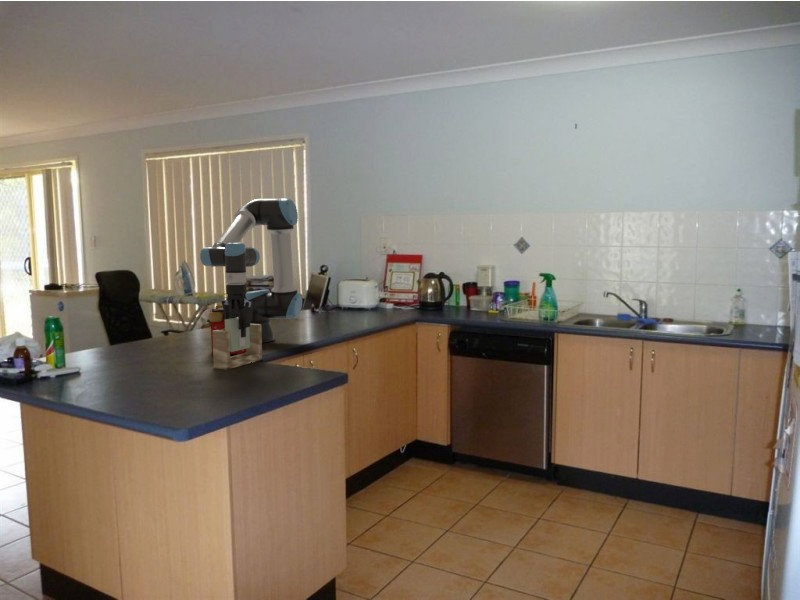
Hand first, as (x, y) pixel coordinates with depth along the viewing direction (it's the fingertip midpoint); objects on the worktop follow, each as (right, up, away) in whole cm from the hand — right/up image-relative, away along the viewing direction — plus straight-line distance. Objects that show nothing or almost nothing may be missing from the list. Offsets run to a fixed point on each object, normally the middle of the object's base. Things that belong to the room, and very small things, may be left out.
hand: (238, 345), depth 239 cm
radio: (-9, -5, +21) cm, 23 cm away
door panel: (0, -2, 0) cm, 2 cm away
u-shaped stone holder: (0, -7, +1) cm, 7 cm away
